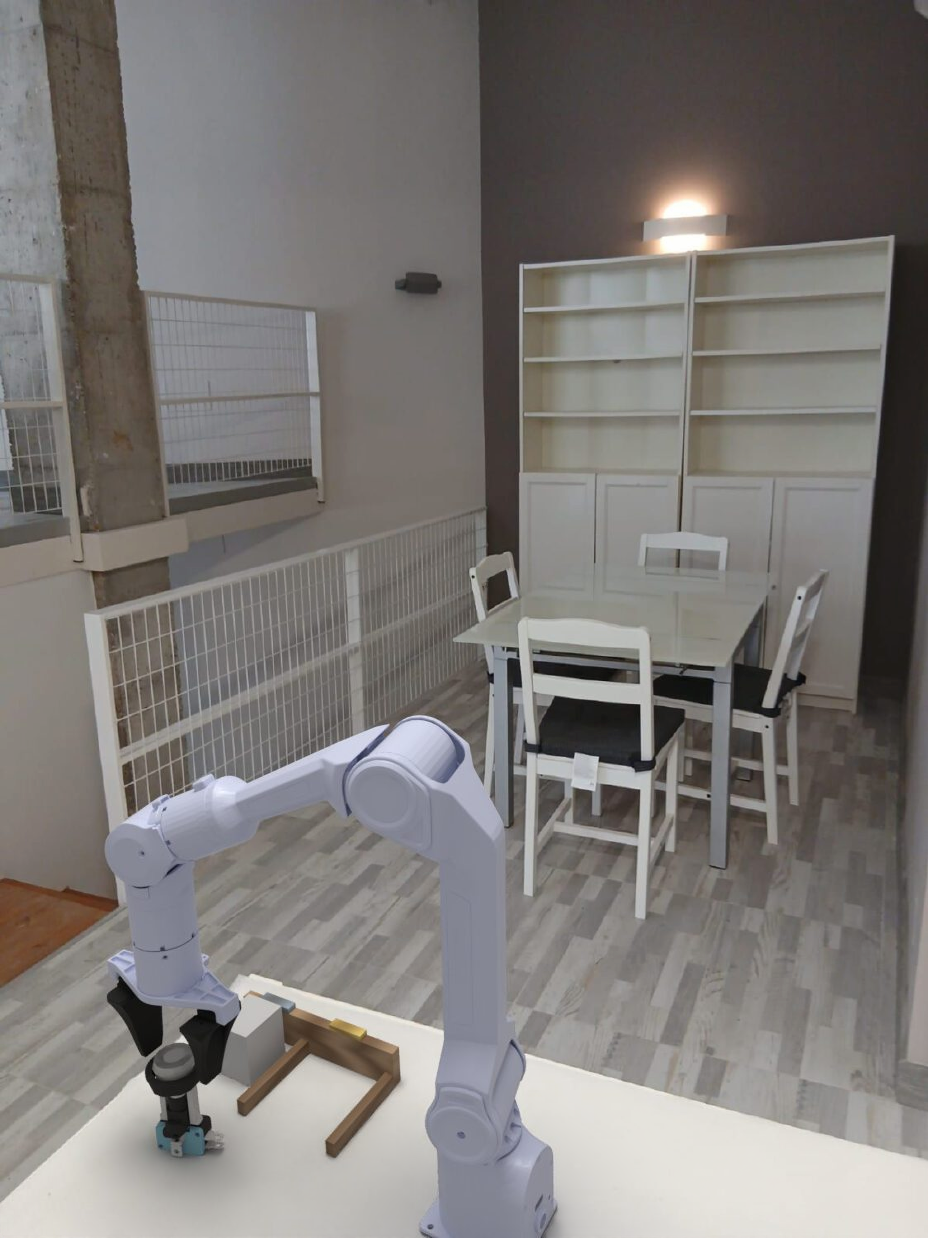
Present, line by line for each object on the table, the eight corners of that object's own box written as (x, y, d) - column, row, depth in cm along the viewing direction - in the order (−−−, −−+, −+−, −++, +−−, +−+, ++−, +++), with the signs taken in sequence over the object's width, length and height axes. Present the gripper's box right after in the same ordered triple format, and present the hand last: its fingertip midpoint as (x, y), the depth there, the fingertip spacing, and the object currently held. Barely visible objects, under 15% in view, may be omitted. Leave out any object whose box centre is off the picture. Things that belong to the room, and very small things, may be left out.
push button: (235, 1129, 89) (226, 1041, 87) (210, 1174, 84) (199, 1082, 82) (173, 1120, 91) (162, 1033, 88) (144, 1163, 86) (132, 1072, 83)
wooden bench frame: (400, 1080, 95) (398, 1042, 94) (334, 1158, 86) (331, 1116, 85) (253, 1021, 105) (250, 985, 104) (179, 1085, 96) (175, 1047, 94)
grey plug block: (285, 1054, 100) (281, 1006, 98) (250, 1087, 95) (245, 1037, 94) (254, 1041, 102) (249, 993, 100) (218, 1073, 97) (213, 1024, 96)
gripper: (258, 931, 82) (269, 1062, 85) (143, 892, 89) (158, 1014, 92) (199, 975, 76) (215, 1113, 79) (82, 929, 83) (100, 1058, 86)
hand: (180, 1063), depth 85 cm, fingers open, 7 cm apart
